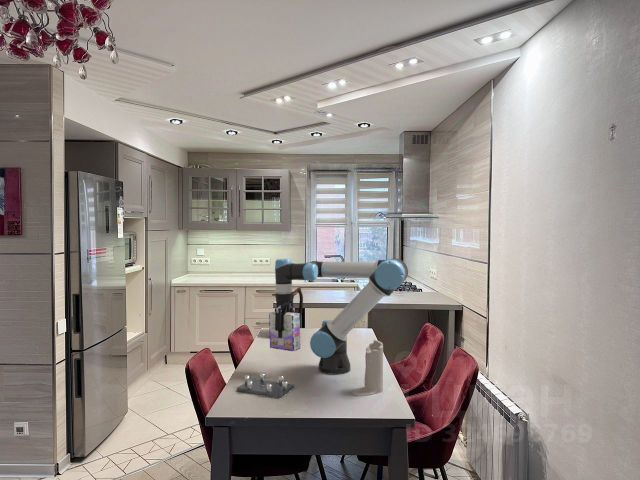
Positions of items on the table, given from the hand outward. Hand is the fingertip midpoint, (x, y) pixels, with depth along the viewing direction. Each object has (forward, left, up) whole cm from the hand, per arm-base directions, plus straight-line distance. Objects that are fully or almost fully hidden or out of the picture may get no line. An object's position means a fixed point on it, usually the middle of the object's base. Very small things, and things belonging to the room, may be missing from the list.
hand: (284, 343), depth 194 cm
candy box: (0, 0, -3) cm, 3 cm away
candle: (-41, +6, -15) cm, 44 cm away
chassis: (-2, +20, -14) cm, 25 cm away
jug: (+31, -63, -15) cm, 72 cm away
